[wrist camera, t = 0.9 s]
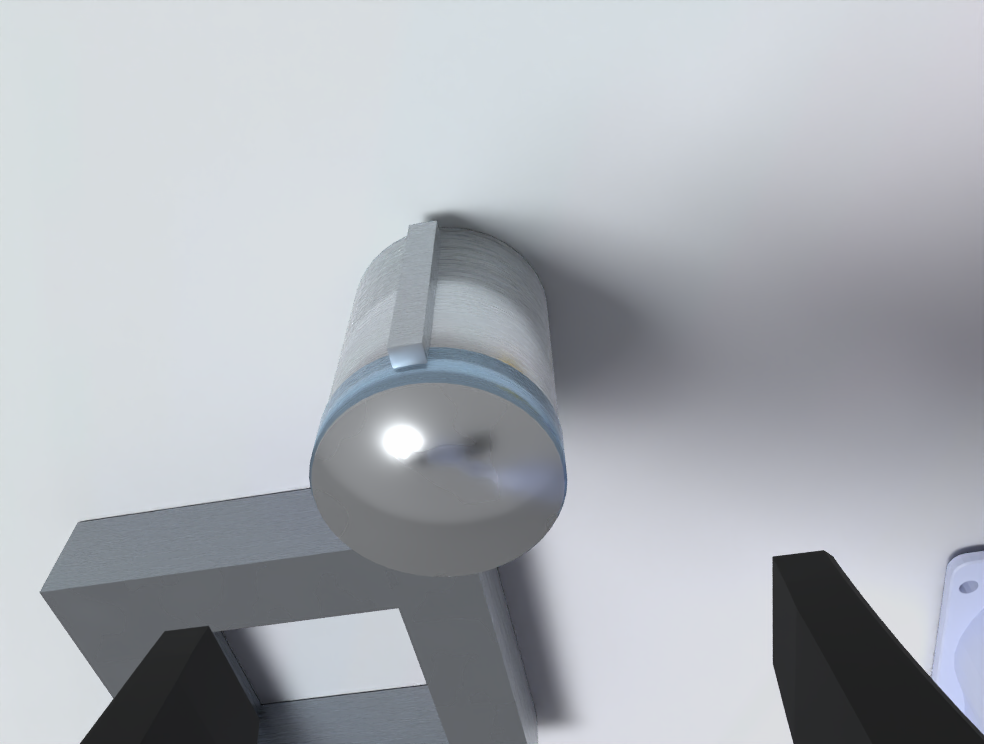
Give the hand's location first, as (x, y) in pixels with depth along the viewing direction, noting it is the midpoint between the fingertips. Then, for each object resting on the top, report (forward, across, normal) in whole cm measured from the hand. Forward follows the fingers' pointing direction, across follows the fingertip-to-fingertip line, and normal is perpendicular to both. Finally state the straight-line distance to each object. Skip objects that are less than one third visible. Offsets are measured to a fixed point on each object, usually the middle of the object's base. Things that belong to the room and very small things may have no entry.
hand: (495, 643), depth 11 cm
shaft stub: (+10, +1, +1) cm, 11 cm away
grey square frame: (+10, +7, +11) cm, 17 cm away
